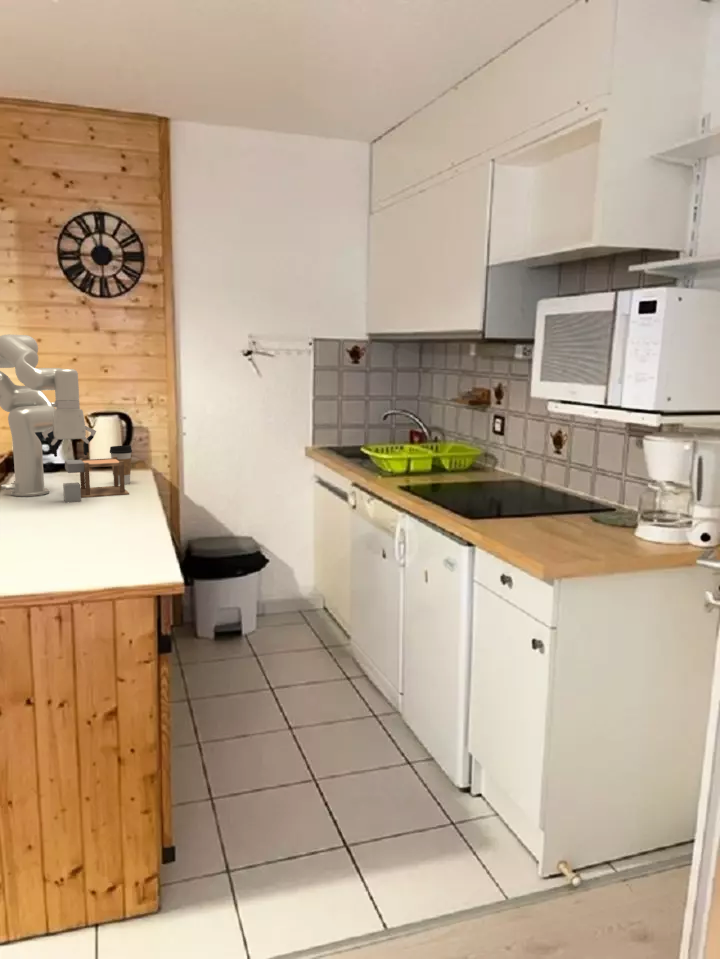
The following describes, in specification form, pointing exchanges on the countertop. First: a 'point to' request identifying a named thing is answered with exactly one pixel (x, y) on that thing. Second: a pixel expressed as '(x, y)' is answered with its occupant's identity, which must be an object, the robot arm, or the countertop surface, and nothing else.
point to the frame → (107, 490)
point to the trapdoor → (78, 466)
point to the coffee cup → (123, 455)
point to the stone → (72, 492)
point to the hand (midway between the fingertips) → (70, 455)
